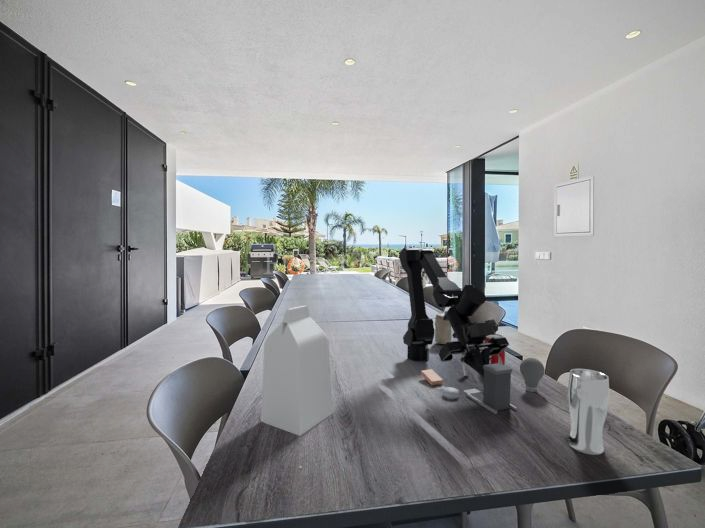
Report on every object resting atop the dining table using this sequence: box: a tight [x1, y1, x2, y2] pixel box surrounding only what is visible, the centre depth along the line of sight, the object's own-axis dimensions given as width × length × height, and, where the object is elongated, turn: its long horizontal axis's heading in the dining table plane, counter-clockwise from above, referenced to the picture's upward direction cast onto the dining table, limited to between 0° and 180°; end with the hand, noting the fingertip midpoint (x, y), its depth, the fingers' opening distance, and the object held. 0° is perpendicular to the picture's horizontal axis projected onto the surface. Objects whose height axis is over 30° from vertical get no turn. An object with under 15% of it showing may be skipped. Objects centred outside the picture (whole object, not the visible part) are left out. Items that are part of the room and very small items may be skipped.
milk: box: [260, 304, 333, 437], centre depth 85 cm, size 12×12×26 cm
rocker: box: [420, 368, 444, 386], centre depth 104 cm, size 6×4×1 cm, turn 20°
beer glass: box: [567, 368, 610, 456], centre depth 74 cm, size 7×7×15 cm
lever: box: [460, 356, 469, 376], centre depth 109 cm, size 2×2×5 cm
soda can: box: [483, 333, 506, 366], centre depth 114 cm, size 7×7×12 cm
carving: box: [434, 312, 452, 345], centre depth 147 cm, size 6×8×12 cm
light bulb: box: [519, 357, 546, 393], centre depth 99 cm, size 6×6×10 cm
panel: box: [432, 384, 518, 415], centre depth 99 cm, size 28×18×3 cm, turn 20°
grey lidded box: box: [482, 363, 513, 412], centre depth 89 cm, size 4×5×10 cm
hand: (488, 379), depth 91 cm, fingers closed
